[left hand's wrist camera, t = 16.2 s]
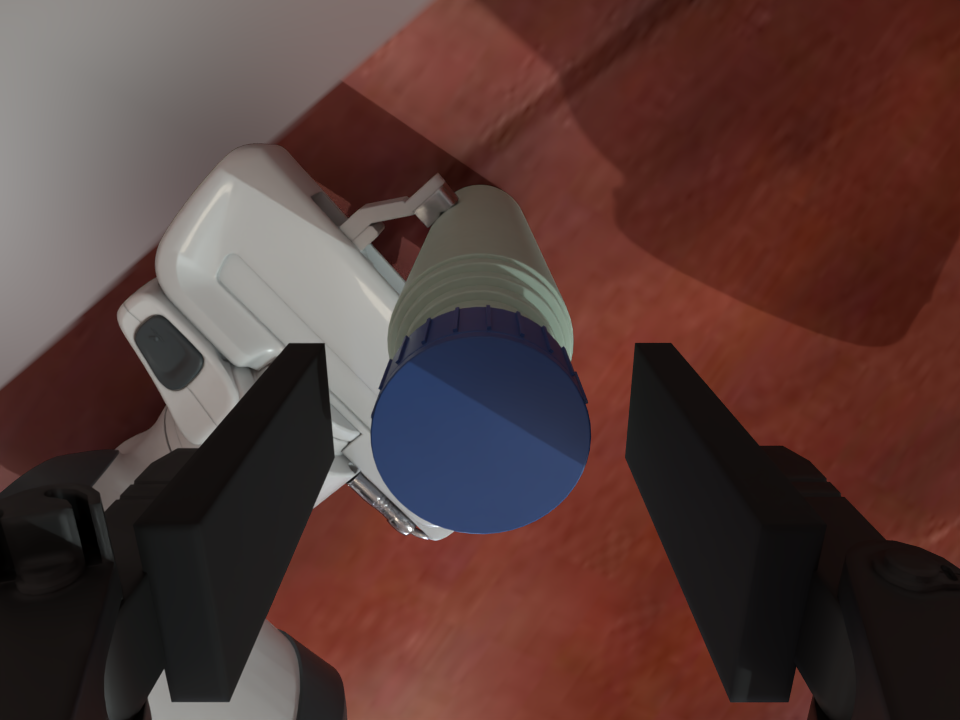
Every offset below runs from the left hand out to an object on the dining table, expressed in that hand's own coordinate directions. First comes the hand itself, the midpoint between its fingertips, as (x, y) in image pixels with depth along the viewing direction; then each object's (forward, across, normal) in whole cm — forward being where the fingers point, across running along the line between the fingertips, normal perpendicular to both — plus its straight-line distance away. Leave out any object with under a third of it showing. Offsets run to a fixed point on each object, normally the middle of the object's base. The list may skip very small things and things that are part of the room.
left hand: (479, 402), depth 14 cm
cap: (-2, 0, 0) cm, 2 cm away
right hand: (+17, -1, -1) cm, 17 cm away
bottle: (+23, 0, 0) cm, 23 cm away
